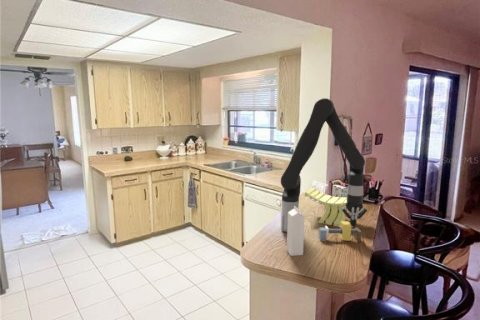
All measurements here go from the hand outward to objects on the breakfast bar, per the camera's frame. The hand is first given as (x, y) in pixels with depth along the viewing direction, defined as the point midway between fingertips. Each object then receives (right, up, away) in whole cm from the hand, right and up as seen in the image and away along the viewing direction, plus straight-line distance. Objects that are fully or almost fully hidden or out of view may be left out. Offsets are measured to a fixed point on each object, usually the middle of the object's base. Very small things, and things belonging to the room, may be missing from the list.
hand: (352, 225), depth 155 cm
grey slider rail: (-6, -4, +1) cm, 7 cm away
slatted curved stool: (-2, -3, +29) cm, 29 cm away
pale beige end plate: (-13, -5, +1) cm, 14 cm away
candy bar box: (+9, 0, +49) cm, 50 cm away
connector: (-15, -7, +1) cm, 17 cm away
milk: (-32, -10, -14) cm, 36 cm away
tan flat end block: (+3, -7, +1) cm, 8 cm away
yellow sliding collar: (-4, -7, +1) cm, 8 cm away
